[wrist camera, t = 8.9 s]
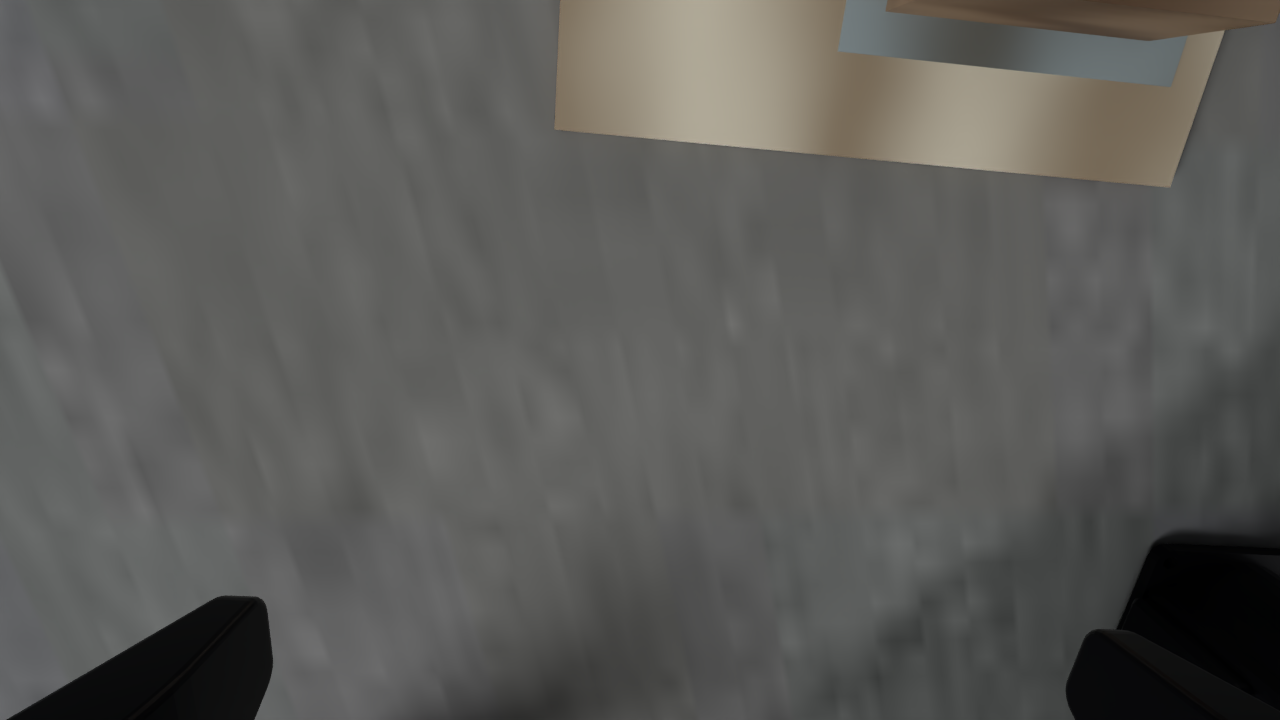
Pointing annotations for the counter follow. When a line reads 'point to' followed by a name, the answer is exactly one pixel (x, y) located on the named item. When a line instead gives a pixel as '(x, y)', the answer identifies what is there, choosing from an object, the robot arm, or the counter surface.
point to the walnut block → (1103, 15)
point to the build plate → (881, 85)
